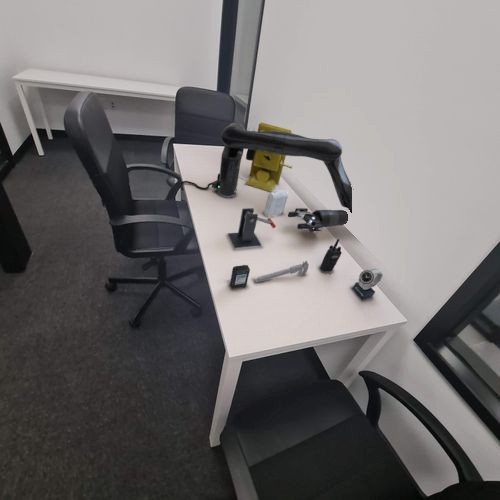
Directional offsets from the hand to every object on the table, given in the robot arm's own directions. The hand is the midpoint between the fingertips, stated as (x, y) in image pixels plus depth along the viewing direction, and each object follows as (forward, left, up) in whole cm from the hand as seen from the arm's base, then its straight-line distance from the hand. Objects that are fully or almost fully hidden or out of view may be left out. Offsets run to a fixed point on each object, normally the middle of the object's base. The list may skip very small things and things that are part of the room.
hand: (293, 220), depth 108 cm
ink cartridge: (-2, -38, -9) cm, 39 cm away
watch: (+35, -13, -9) cm, 38 cm away
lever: (-10, -12, 0) cm, 16 cm away
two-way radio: (+20, -9, -9) cm, 23 cm away
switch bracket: (-13, -15, -9) cm, 22 cm away
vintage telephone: (-34, +38, -9) cm, 52 cm away
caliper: (+8, -25, -9) cm, 27 cm away
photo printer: (-13, +13, -9) cm, 21 cm away
